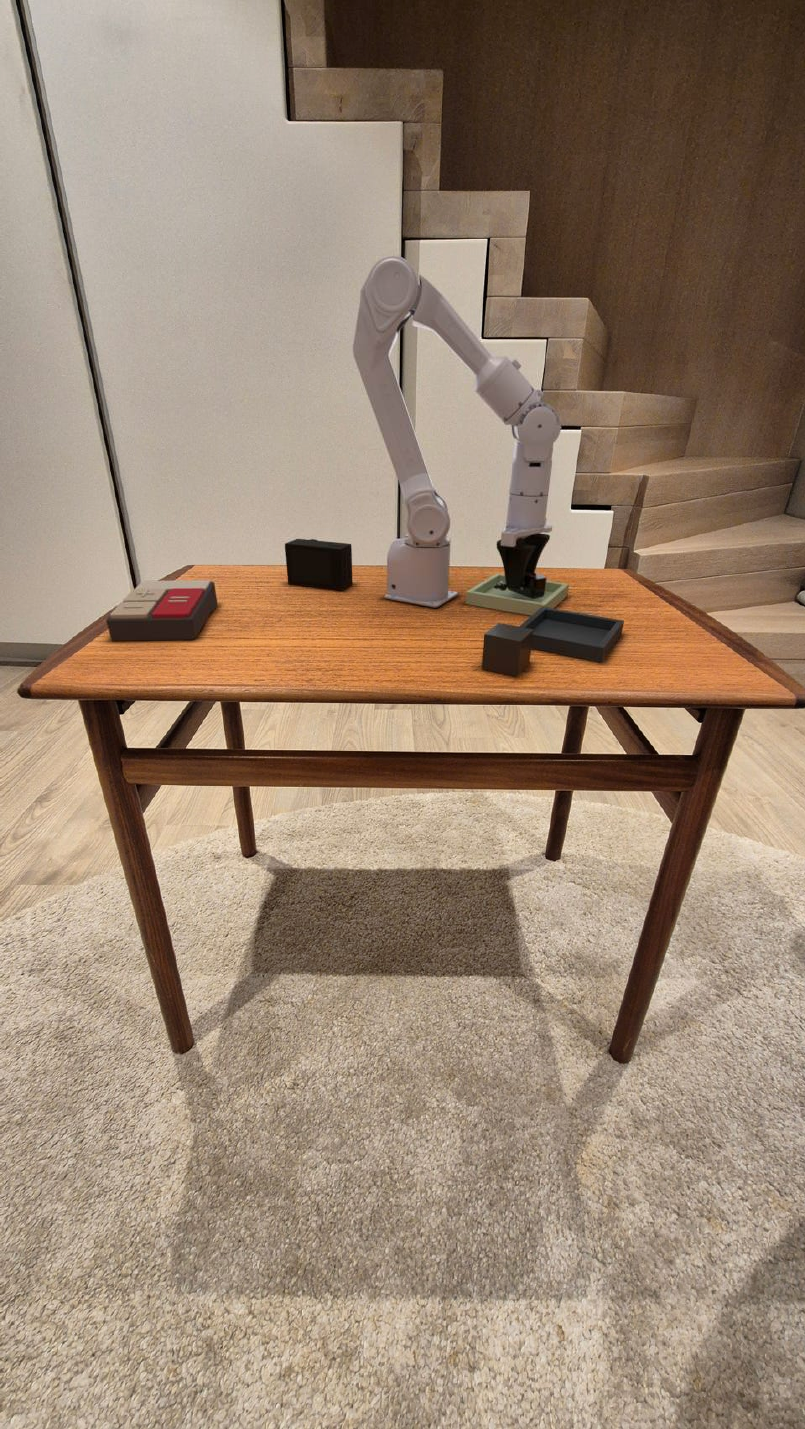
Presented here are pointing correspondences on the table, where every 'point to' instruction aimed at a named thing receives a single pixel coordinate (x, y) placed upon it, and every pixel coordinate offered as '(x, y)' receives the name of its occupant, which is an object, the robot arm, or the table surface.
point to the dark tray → (573, 633)
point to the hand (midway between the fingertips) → (519, 584)
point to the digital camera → (319, 564)
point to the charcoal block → (507, 649)
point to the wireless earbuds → (528, 585)
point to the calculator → (163, 611)
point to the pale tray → (514, 597)
